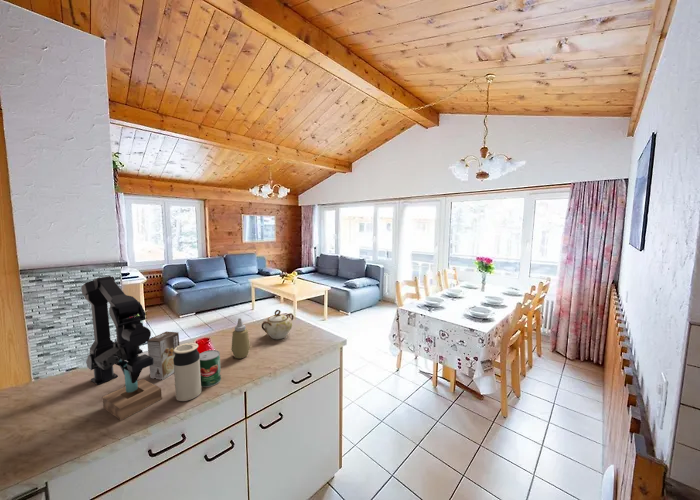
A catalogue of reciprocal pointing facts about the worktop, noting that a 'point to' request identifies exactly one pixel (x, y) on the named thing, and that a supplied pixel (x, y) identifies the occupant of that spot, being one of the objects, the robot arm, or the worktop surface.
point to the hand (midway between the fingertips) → (131, 381)
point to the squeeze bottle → (240, 340)
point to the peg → (129, 382)
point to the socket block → (131, 399)
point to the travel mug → (187, 371)
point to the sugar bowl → (278, 325)
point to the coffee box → (162, 354)
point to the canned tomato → (210, 368)
